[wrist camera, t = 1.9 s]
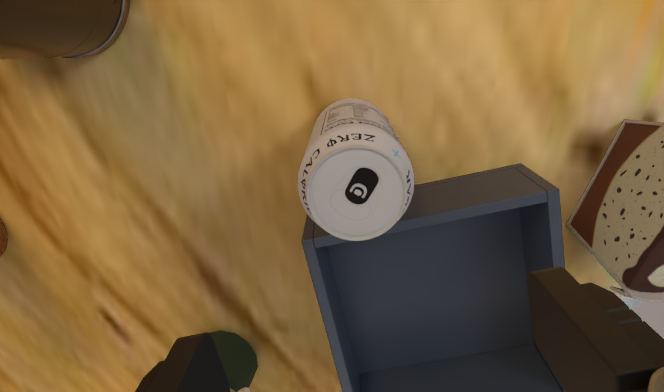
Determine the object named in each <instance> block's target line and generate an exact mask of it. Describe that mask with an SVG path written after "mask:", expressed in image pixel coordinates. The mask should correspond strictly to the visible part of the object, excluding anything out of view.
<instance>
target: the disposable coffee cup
mask: <svg viewBox="0 0 664 392" xmlns="http://www.w3.org/2000/svg"><path fill="white" fill-rule="evenodd" d="M6 246H7V233H6V229H5V226H4V225H3V223H2V221H1V219H0V256H1V255H2V254H3V253H4V251H5V249H6Z"/></svg>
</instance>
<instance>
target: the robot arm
mask: <svg viewBox="0 0 664 392" xmlns="http://www.w3.org/2000/svg"><path fill="white" fill-rule="evenodd" d="M128 11H129V0H0V59H20V58H42V57H43V58H47V57H64V58H77V57H86V56H91V55H94V54H97V53H99V52H101V51H103V50H104V49H106V48H107V47H109V46H110V45H111V44H112V43H113V42H114V41H115V40H116V39H117V37H118V36H119V35H120V33H121V31H122V30H123V28H124V25H125V23H126V20H127V16H128ZM527 286H528V295H529V304H530V314H531V323H532V330H533V334H534V338H535V341H536V344H537V346H538V349H539V351H540V353H541V354H542V356H543V358H544V359H545V361H546V362H547V364H548V365H549V367H550V368H551V370H552V372H553V373H554V375H555V376H556V378H557V379H558V381H559V383H560V384H561V386H562V387H563V389H564V390H565V392H664V339H663V338H662V337H661V336H660V335H659V334H657V333H656V332H655V331H654V330H653V329H652V328H651V327H650V326H649V325H648V324H647V323H646V322H642V320H641V318H640V317H639V316H638V315H637V314H636V313H635V312H634V311H633V310H629V308H628V306H627V305H626V304H625V303H624V302H623V301H622V300H621V299H620V298H618V297H617V296H616V295H615V294H614V293H613V292H611V291H608V290H606V289H604V288H602V287H600V286H598V285H595V284H593V283H586V284H581V285H580V284H579V283H578V282H577V281H576V280H575V279H574V278H573V277H572V276H571V275H570V274H569V273H568V272H567V271H566V270H565V269H564V268H563V267H554V268H549V269H544V270H538V271H533V272H529V273H528V275H527ZM135 392H230V385H229V381H228V378H227V375H226V373H225V370H224V367H223V365H222V362H221V359H220V356H219V354H218V351H217V348H216V346H215V343H214V340H213V338H212V336H211V335H210V334H209V333H202V334H197V335H191V336H186V337H181V338H178V339H177V340H176V341H175V343H174V345H173V347H172V348H171V350H170V352H169V354H168V356H167V357H166V359H165V361H161V362H159V363H158V364H157V365H156V366H155V367H154V368H153V369H152V370H151V371H150V372H149V373H148V374H147V375H146V376H145V377H144V378H143V379H142V381H141V383H140V384H139V386H138V388H137V389H136V391H135Z"/></svg>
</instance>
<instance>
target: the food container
mask: <svg viewBox="0 0 664 392" xmlns="http://www.w3.org/2000/svg"><path fill="white" fill-rule="evenodd" d="M566 225H567V226H568V228H569V229H570V230H571V231H572V232H573V233H574V234H575V235H576V237H577V238H578V239H579V240H580V241H581V242H582V243H583V244H584V246H585V247H586V248H587V249H588V250H589V251H590V252H591V254H592V255H593V256H594V257H595V258H596V259H597V260H598V261H599V263H600V264H601V265H602V266H603V267H604V268H605V269H606V270H607V272H608V273H609V274H610V275H611V276H612V277H613V278H614V280H615V281H616V282H617V283H618V284H619V285H620V286H621V287H622V289H620V288H616V287H612V286H611V287H610V289H612V290H614V291H616V292H618V293H620V294H622V295H624V296H627V297H631V298H635V299H639V300H644V301H654V302H664V123H660V122H650V121H639V120H628V119H624V121H623V123H622V125H621V126H620V128H619V130H618V132H617V134H616V135H615V137H614V139H613V141H612V143H611V144H610V146H609V148H608V150H607V152H606V154H605V155H604V157H603V159H602V161H601V163H600V164H599V166H598V168H597V170H596V172H595V173H594V175H593V177H592V179H591V181H590V182H589V184H588V186H587V188H586V190H585V191H584V193H583V195H582V197H581V199H580V201H579V202H578V204H577V206H576V208H575V210H574V211H573V213H572V215H571V217H570V219H569V220H568V222H567V224H566Z"/></svg>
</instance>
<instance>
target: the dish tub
mask: <svg viewBox="0 0 664 392" xmlns="http://www.w3.org/2000/svg"><path fill="white" fill-rule="evenodd" d="M302 245H303V248H304V252H305V256H306V259H307V263H308V267H309V270H310V274H311V278H312V281H313V285H314V289H315V292H316V296H317V300H318V303H319V307H320V311H321V314H322V318H323V322H324V325H325V329H326V333H327V336H328V340H329V344H330V347H331V351H332V355H333V358H334V362H335V365H336V369H337V373H338V376H339V380H340V384H341V387H342V391H343V392H565V390H564V389H563V387H562V386H561V384H560V383H559V381H558V379H557V378H556V376H555V375H554V373H553V372H552V370H551V368H550V367H549V365H548V364H547V362H546V361H545V359H544V358H543V356H542V354H541V353H540V351H539V349H538V346H537V344H536V341H535V338H534V334H533V330H532V323H531V314H530V304H529V295H528V286H527V275H528V273H529V272H533V271H538V270H544V269H549V268H554V267H563V268H564V269H565V262H564V249H563V236H562V223H561V210H560V196H559V189H558V188H557V187H555V186H554V185H552V184H551V183H549V182H548V181H546V180H545V179H543V178H542V177H540V176H539V175H537V174H536V173H534V172H533V171H531V170H530V169H528V168H527V167H525V166H524V165H522V164H516V165H511V166H506V167H501V168H497V169H492V170H487V171H482V172H477V173H473V174H468V175H463V176H458V177H454V178H449V179H444V180H439V181H434V182H430V183H425V184H420V185H415V186H414V192H413V195H412V199H411V202H410V204H409V206H408V208H407V210H406V212H405V213H404V214H403V215H402V217H401V218H400V219H399V220H398V221H397V222H396V223H395V224H394V226H392V227H391V228H390V229H389V230H388V231H387V232H385V233H383V234H381V235H380V236H378V237H375V238H372V239H369V240H363V241H350V240H344V239H341V238H338V237H335V236H333V235H331V234H330V233H328V232H327V231H325V230H324V229H323V228H321V227H320V226H318V225H317V224H316V223H315V222H314V221H313V220H312V219H311V218H310V217H309V215H308V214H307V218H306V223H305V228H304V233H303V237H302Z"/></svg>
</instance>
